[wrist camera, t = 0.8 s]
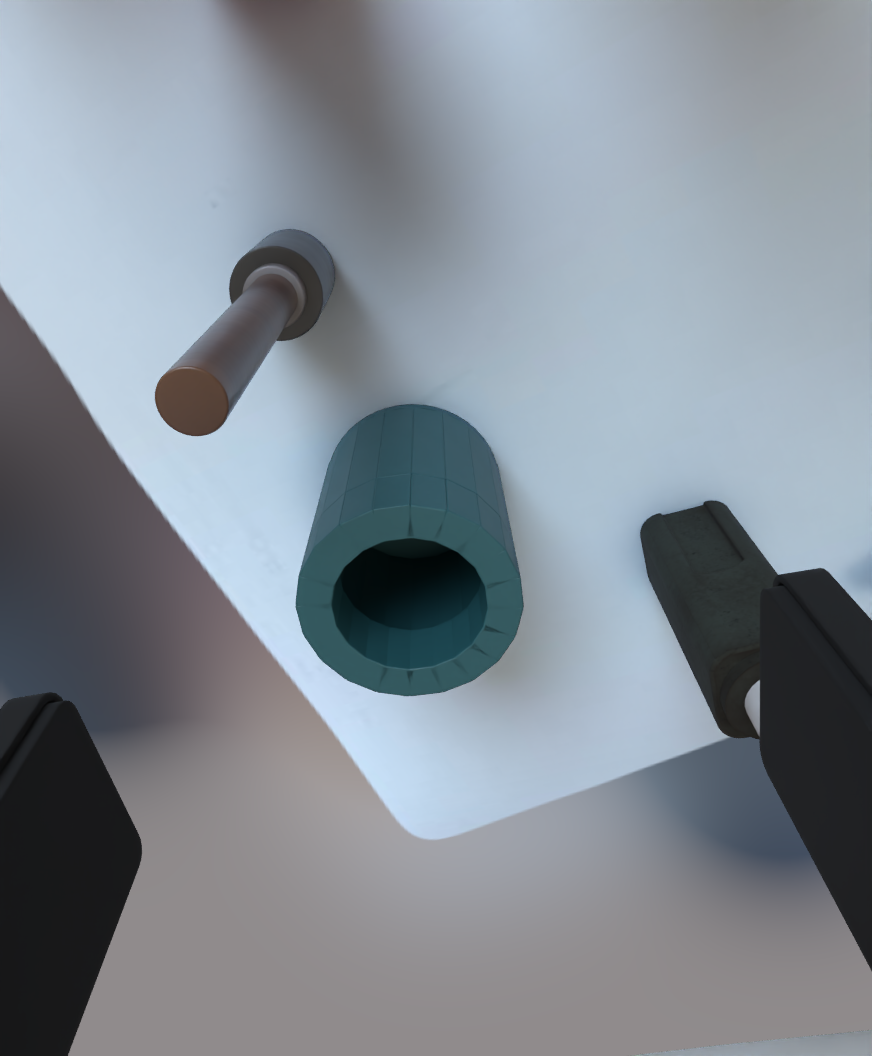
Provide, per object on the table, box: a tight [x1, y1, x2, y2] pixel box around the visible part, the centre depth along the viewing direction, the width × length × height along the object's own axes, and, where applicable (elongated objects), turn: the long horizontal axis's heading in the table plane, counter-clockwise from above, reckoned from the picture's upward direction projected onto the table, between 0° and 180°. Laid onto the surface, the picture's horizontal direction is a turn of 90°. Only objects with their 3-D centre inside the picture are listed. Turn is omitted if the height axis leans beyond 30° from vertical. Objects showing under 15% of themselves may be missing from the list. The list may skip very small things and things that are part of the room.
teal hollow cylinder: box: [296, 404, 524, 696], centre depth 39 cm, size 9×9×12 cm
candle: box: [640, 501, 778, 739], centre depth 35 cm, size 5×5×25 cm
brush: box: [155, 229, 335, 436], centre depth 30 cm, size 4×4×19 cm
